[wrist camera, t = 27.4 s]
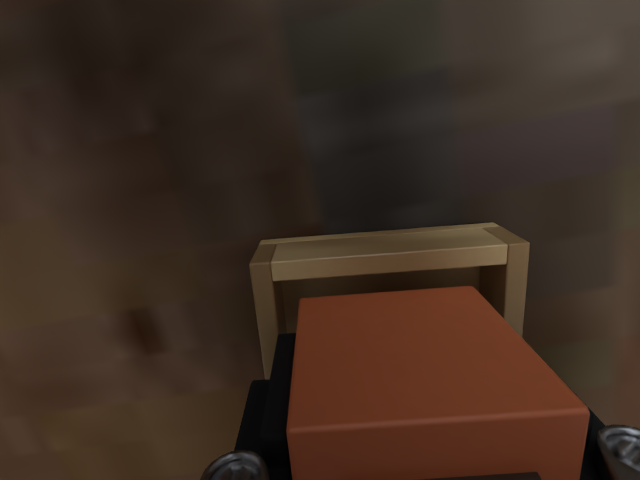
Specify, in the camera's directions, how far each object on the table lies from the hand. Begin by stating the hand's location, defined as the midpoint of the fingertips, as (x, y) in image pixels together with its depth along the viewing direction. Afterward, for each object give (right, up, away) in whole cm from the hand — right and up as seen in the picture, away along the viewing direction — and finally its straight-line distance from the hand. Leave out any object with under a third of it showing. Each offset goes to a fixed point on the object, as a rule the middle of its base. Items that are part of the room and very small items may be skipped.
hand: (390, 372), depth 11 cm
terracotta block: (0, 0, 0) cm, 0 cm away
